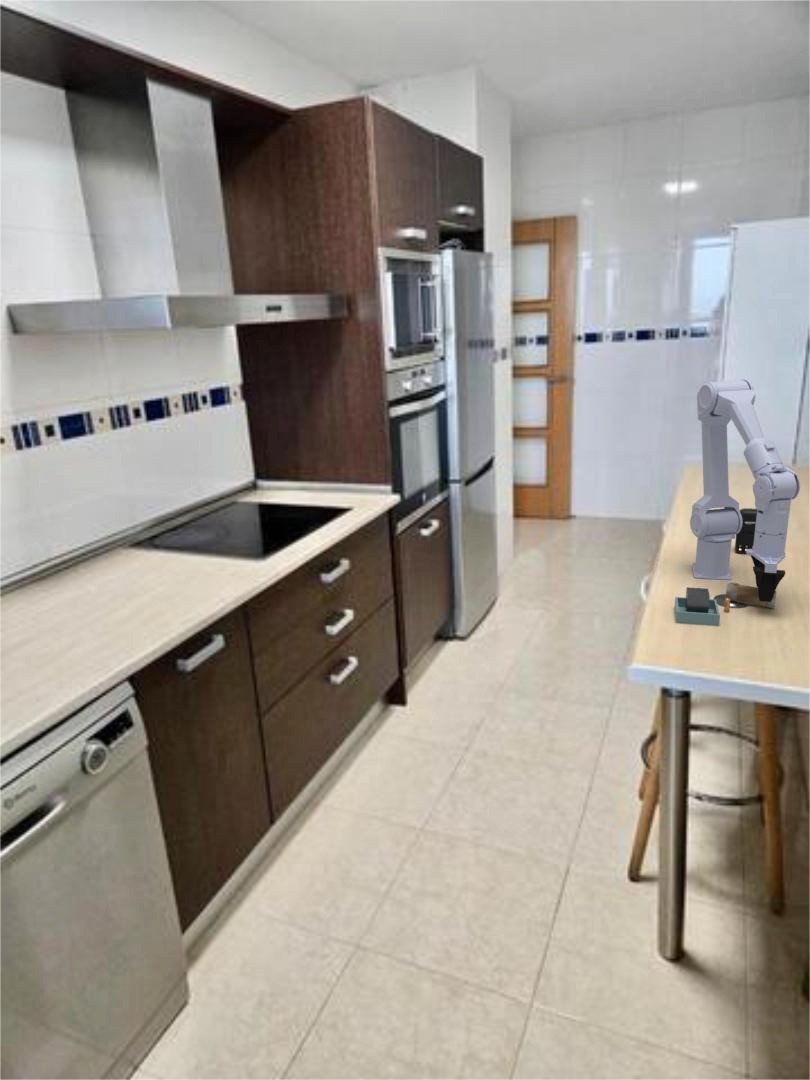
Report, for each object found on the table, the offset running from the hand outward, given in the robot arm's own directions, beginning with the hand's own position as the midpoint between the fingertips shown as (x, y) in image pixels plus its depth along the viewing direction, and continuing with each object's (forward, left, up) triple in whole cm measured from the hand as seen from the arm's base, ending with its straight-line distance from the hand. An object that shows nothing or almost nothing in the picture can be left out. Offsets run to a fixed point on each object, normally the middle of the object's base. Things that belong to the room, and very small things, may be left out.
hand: (763, 594), depth 144 cm
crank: (0, -6, -2) cm, 6 cm away
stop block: (+9, -13, -2) cm, 16 cm away
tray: (+9, -13, -2) cm, 16 cm away
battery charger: (-33, +2, -3) cm, 33 cm away
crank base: (0, -6, -2) cm, 6 cm away
